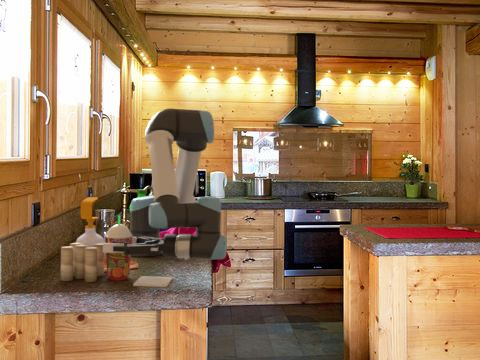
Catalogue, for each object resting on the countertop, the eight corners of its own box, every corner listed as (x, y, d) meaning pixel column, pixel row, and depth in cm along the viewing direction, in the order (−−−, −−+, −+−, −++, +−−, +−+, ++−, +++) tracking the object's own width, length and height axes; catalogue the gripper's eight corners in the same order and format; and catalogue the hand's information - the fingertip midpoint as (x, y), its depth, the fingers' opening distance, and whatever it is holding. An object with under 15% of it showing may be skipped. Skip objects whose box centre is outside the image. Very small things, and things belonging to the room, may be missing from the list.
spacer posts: (72, 273, 154) (72, 242, 154) (105, 274, 154) (106, 243, 154) (58, 280, 144) (59, 248, 143) (94, 282, 143) (94, 249, 143)
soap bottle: (108, 268, 163) (110, 197, 162) (93, 273, 154) (95, 198, 154) (86, 265, 165) (87, 196, 165) (70, 271, 157) (71, 197, 156)
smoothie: (104, 282, 143) (105, 217, 143) (104, 276, 151) (105, 214, 151) (132, 281, 146) (133, 216, 145) (130, 275, 154) (132, 214, 153)
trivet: (141, 277, 150) (141, 276, 150) (172, 279, 150) (172, 277, 150) (133, 285, 140) (133, 283, 140) (166, 287, 140) (166, 285, 140)
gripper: (169, 266, 135) (96, 263, 136) (183, 250, 160) (121, 248, 161) (170, 240, 135) (97, 238, 136) (183, 228, 160) (121, 227, 160)
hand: (110, 243), depth 148 cm, fingers open, 13 cm apart
